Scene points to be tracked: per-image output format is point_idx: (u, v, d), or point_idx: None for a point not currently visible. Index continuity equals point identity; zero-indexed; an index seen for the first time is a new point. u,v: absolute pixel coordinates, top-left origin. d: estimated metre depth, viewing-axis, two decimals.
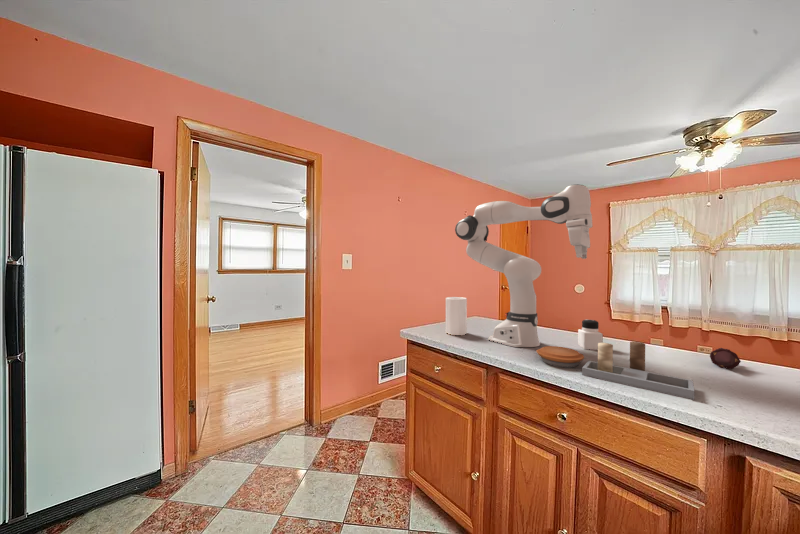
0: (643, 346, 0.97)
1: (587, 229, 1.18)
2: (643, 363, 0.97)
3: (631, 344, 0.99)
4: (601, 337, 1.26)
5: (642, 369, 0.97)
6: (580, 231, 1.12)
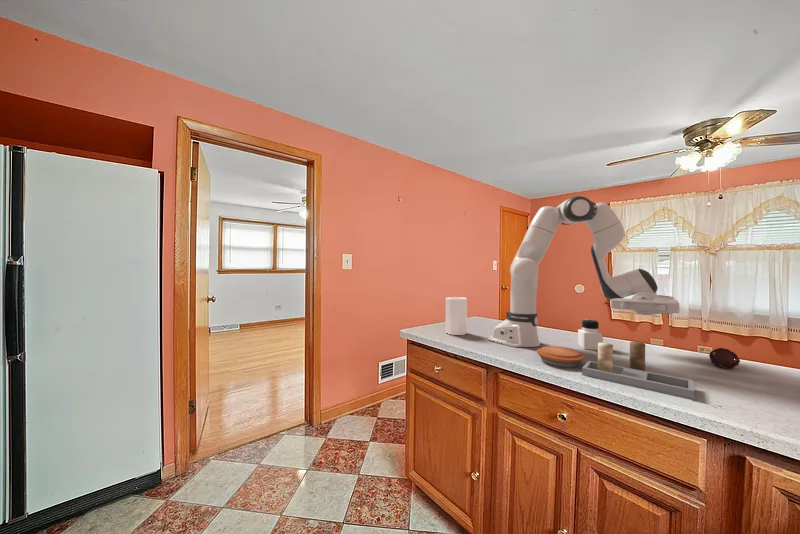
0: (643, 346, 0.97)
1: (648, 311, 1.15)
2: (643, 363, 0.97)
3: (631, 344, 0.99)
4: (601, 337, 1.26)
5: (642, 369, 0.97)
6: None
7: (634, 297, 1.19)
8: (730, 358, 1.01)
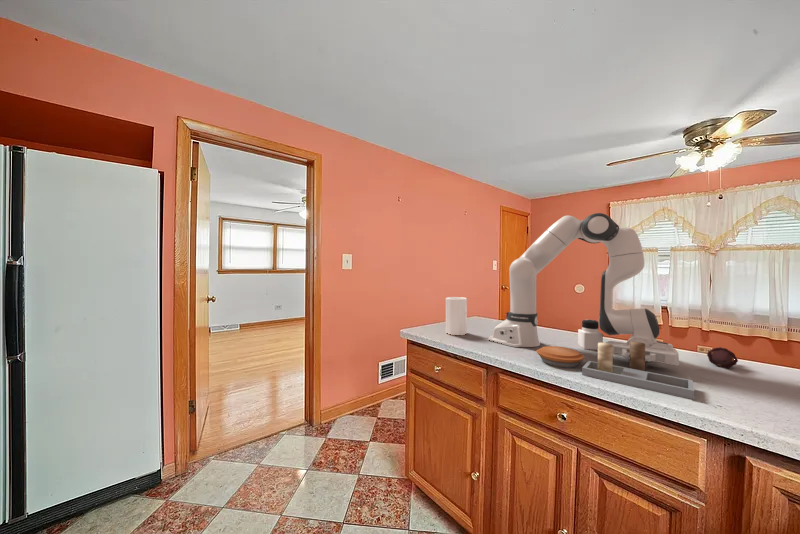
0: (643, 346, 0.97)
1: None
2: (643, 363, 0.97)
3: (631, 344, 0.99)
4: (601, 337, 1.26)
5: (642, 369, 0.97)
6: None
7: (630, 341, 1.09)
8: (727, 357, 1.02)
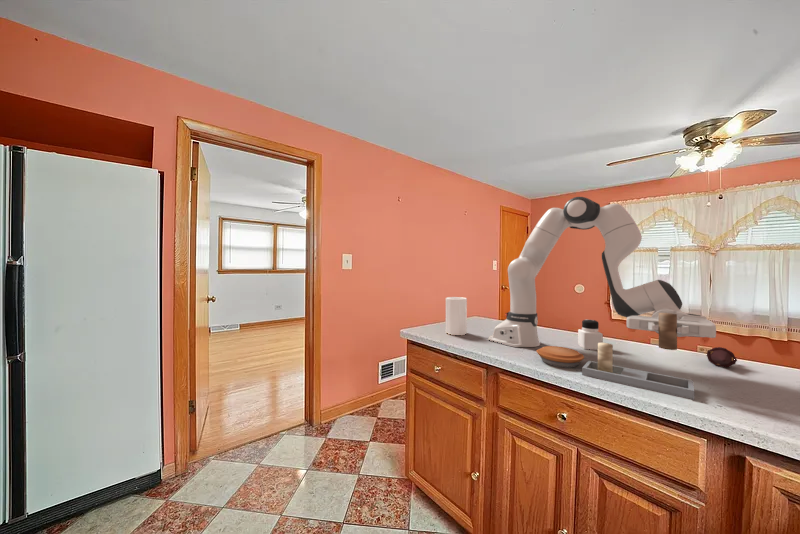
0: (675, 316, 0.85)
1: None
2: (675, 336, 0.85)
3: (660, 315, 0.87)
4: (601, 337, 1.26)
5: (674, 343, 0.85)
6: None
7: (655, 315, 0.97)
8: (726, 357, 1.02)
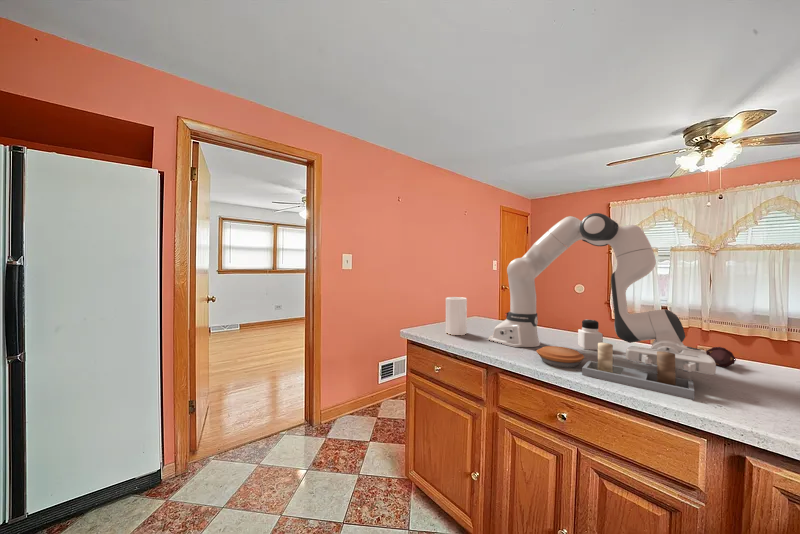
0: (673, 357, 0.85)
1: None
2: (673, 376, 0.85)
3: (658, 354, 0.87)
4: (601, 337, 1.26)
5: (672, 383, 0.85)
6: None
7: (655, 347, 0.97)
8: (725, 356, 1.03)
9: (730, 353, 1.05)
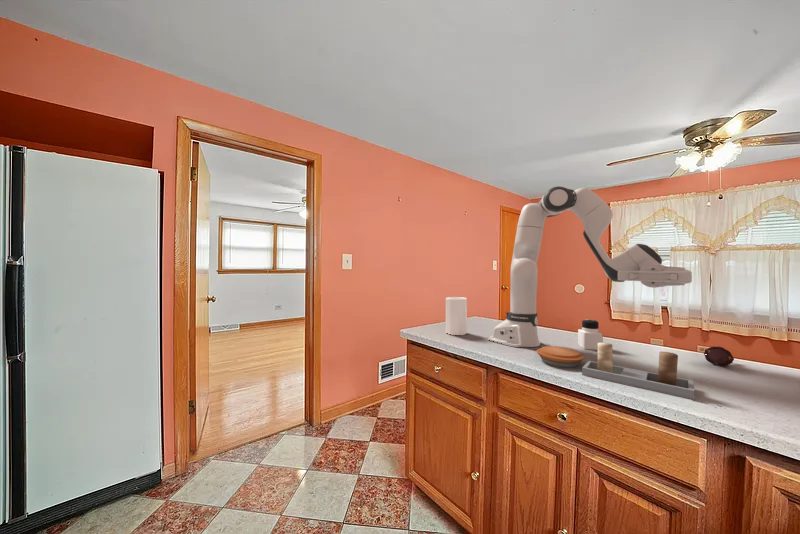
0: (676, 358, 0.84)
1: (657, 283, 1.09)
2: (675, 377, 0.85)
3: (661, 355, 0.86)
4: (601, 337, 1.26)
5: (673, 384, 0.85)
6: None
7: (643, 269, 1.13)
8: (722, 356, 1.04)
9: (728, 352, 1.05)
